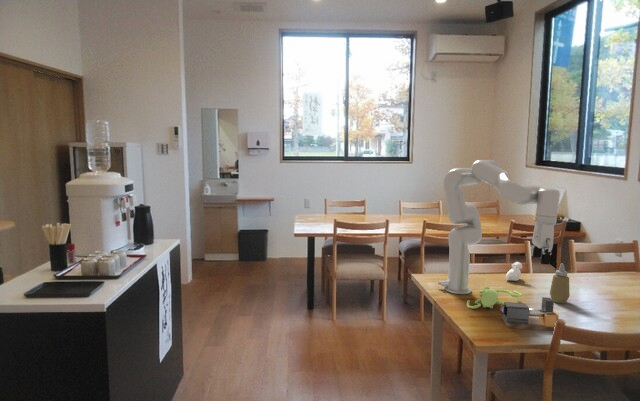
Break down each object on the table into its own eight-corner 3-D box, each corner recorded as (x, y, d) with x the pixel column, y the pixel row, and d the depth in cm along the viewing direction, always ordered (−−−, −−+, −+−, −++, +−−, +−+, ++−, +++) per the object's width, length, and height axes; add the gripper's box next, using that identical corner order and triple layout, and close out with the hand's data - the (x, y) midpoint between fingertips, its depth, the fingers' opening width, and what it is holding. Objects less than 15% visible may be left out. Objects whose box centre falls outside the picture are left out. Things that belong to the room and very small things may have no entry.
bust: (508, 286, 222) (523, 273, 215) (498, 275, 225) (512, 261, 219) (518, 281, 230) (532, 268, 223) (507, 271, 233) (521, 257, 227)
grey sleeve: (506, 322, 167) (507, 306, 166) (502, 317, 172) (504, 302, 171) (528, 324, 166) (529, 308, 165) (523, 319, 171) (524, 303, 170)
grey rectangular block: (521, 317, 166) (522, 299, 165) (518, 313, 170) (519, 295, 169) (553, 319, 165) (555, 301, 164) (549, 315, 168) (551, 297, 168)
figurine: (523, 301, 195) (524, 289, 194) (507, 319, 174) (508, 306, 173) (483, 292, 206) (484, 281, 206) (463, 308, 186) (464, 295, 185)
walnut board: (507, 327, 165) (508, 324, 165) (501, 318, 174) (501, 315, 174) (559, 331, 162) (560, 328, 162) (550, 321, 171) (550, 319, 171)
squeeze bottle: (566, 299, 197) (570, 262, 195) (570, 305, 189) (574, 267, 187) (547, 297, 199) (550, 260, 197) (550, 303, 192) (554, 265, 190)
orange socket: (545, 326, 164) (546, 314, 163) (538, 319, 171) (539, 307, 170) (557, 327, 163) (558, 314, 163) (550, 320, 170) (551, 308, 169)
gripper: (528, 214, 178) (524, 254, 180) (543, 223, 161) (538, 266, 163) (547, 215, 176) (543, 255, 179) (564, 224, 160) (559, 267, 162)
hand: (540, 260), depth 171 cm, fingers open, 9 cm apart
